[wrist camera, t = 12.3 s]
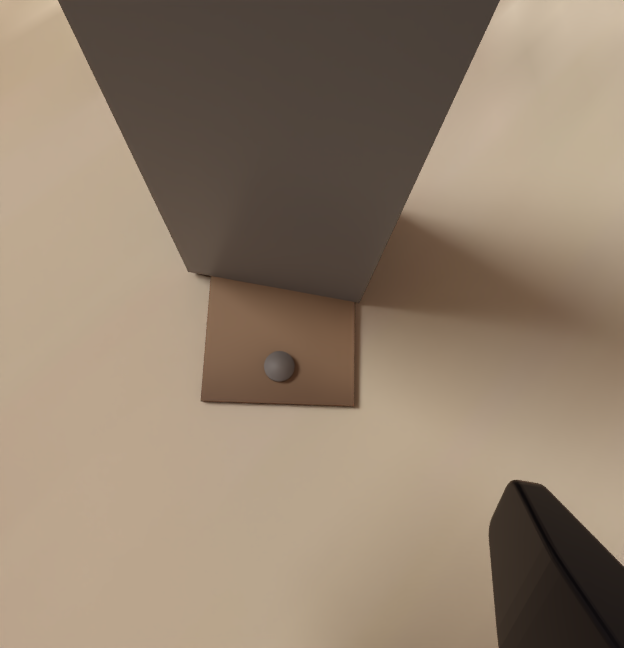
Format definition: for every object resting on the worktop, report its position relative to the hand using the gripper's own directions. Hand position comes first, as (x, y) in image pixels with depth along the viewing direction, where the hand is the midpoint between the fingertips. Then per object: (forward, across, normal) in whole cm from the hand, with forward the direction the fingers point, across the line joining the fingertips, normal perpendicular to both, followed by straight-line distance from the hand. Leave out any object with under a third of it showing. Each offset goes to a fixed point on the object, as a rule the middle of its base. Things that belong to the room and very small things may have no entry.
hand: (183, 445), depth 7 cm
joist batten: (+13, 0, +2) cm, 13 cm away
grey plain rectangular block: (+13, 0, +2) cm, 13 cm away
